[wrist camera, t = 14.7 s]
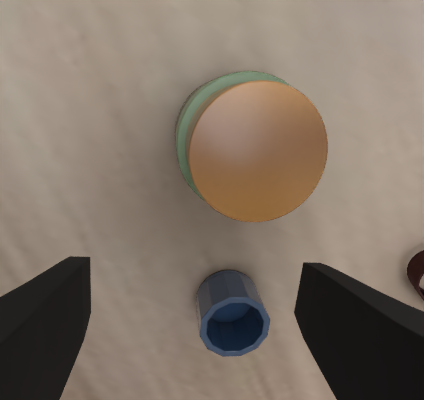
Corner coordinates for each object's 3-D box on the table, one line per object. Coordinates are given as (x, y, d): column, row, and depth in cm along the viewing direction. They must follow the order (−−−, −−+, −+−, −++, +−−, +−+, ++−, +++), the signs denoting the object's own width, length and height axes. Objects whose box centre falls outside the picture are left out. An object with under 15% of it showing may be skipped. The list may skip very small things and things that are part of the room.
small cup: (252, 322, 24) (264, 356, 21) (194, 323, 23) (197, 357, 20) (260, 270, 22) (274, 297, 19) (198, 269, 22) (203, 297, 19)
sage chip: (286, 201, 19) (302, 216, 16) (172, 195, 18) (172, 210, 15) (306, 81, 17) (327, 78, 14) (179, 68, 16) (180, 63, 14)
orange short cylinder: (292, 205, 16) (315, 225, 14) (181, 200, 15) (184, 220, 13) (312, 88, 15) (341, 87, 12) (189, 76, 14) (193, 72, 11)
